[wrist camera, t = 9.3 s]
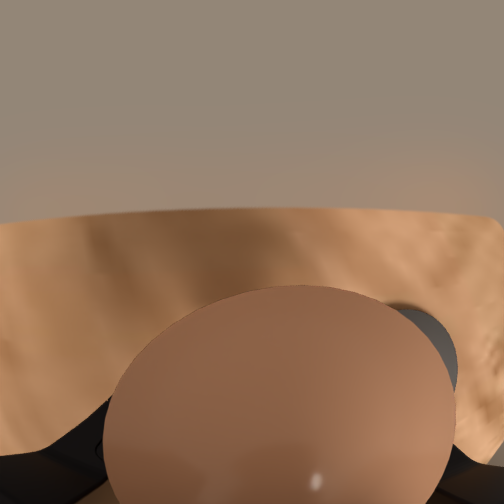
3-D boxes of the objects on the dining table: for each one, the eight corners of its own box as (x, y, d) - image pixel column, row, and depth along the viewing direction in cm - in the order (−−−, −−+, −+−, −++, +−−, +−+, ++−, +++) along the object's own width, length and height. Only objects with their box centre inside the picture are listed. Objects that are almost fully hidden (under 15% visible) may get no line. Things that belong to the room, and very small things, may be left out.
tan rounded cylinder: (320, 375, 15) (487, 446, 3) (246, 428, 14) (253, 603, 2) (266, 304, 16) (335, 209, 4) (190, 357, 15) (44, 410, 3)
